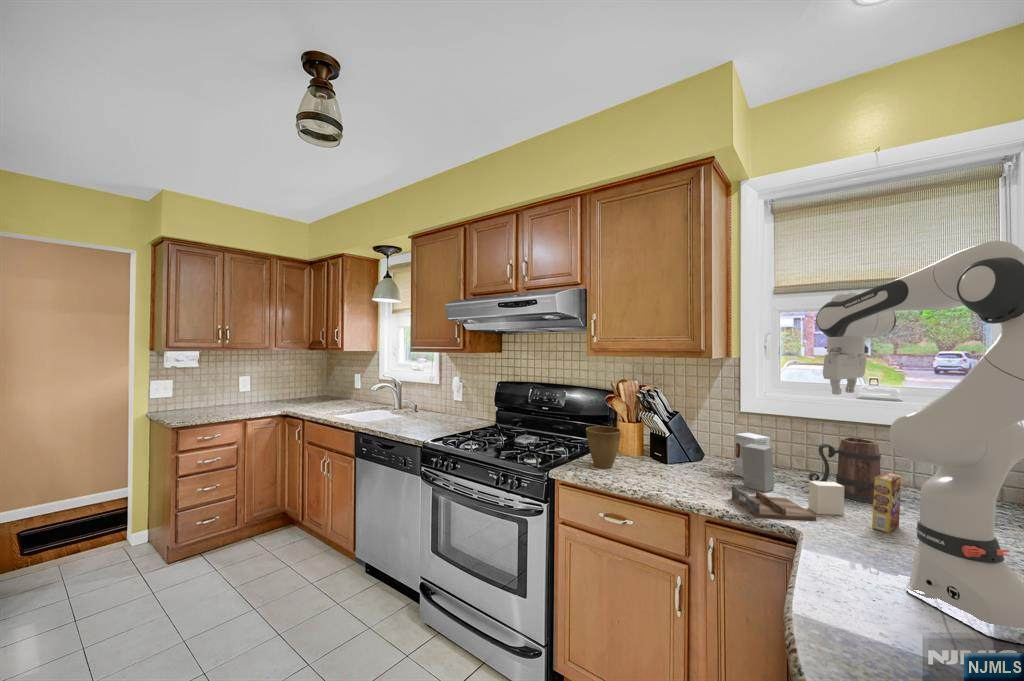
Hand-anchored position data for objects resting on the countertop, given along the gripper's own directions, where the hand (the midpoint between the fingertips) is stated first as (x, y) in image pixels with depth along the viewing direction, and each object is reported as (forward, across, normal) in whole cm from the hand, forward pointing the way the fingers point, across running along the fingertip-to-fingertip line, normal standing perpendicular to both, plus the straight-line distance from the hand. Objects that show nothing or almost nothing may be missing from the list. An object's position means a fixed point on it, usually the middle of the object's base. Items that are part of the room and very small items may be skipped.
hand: (843, 393), depth 129 cm
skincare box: (+40, +10, +29) cm, 51 cm away
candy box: (+39, +8, -9) cm, 41 cm away
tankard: (+40, +33, +9) cm, 52 cm away
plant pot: (+41, -21, +78) cm, 91 cm away
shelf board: (+39, -7, +16) cm, 43 cm away
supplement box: (+40, +23, +38) cm, 60 cm away
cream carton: (+39, +7, +6) cm, 40 cm away
